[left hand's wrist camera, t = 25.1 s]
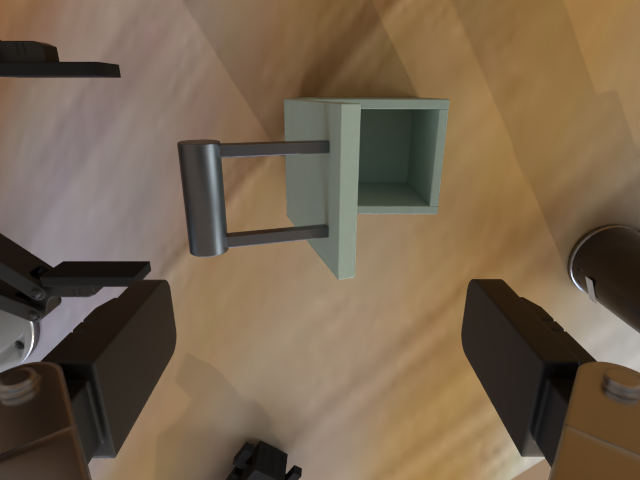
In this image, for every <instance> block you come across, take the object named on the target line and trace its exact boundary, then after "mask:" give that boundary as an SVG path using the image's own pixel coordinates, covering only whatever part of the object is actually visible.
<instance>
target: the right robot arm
mask: <svg viewBox="0 0 640 480" xmlns="http://www.w3.org/2000/svg"><path fill="white" fill-rule="evenodd" d="M0 77H20V78H121V76H120V69H119V65H116V64H109V63H101V62H59V57H58V52H57V47H55V46H52V45H50V44H47V43H41V42H35V41H1V40H0ZM150 271H151V267H150V261H63V262H62V263H60V264H59V265H57V266H56V267H54V268H53V267H51V266H50V265H48V264H47V263H45V262H44V261H42V260H41V259H39V258H38V257H36V256H35V255H33V254H31V253H30V252H28V251H27V250H25V249H24V248H22V247H21V246H19V245H18V244H16V243H15V242H13V241H11V240H10V239H8V238H7V237H5V236H4V235H2V234H1V233H0V373H1V372H3V371H5V370H8V369H10V368H13V367H16V366H18V365H20V364H21V363H22V362H23V361H24V360H25V359H26V358H28V357H29V356H30V355H31V354H32V352H33V351H34V350H35V348H36V346H37V344H38V341H39V335H40V327H39V321H40V320H41V319H43V318H44V317H45V316H46V315H47V314H49V313H50V312H51V311H52V310H54V309H55V308H56V307H57V306H58V305H60V303H61V297H90V296H93V295H95V294H96V293H97V292H98V291H99V290H101V289H102V288H103V287H129V286H130V285H131V284H132V283H133V282H134V281H135V280H143V279H144V278H145V276H146V275H147V274H148V273H149V272H150Z"/></svg>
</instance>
